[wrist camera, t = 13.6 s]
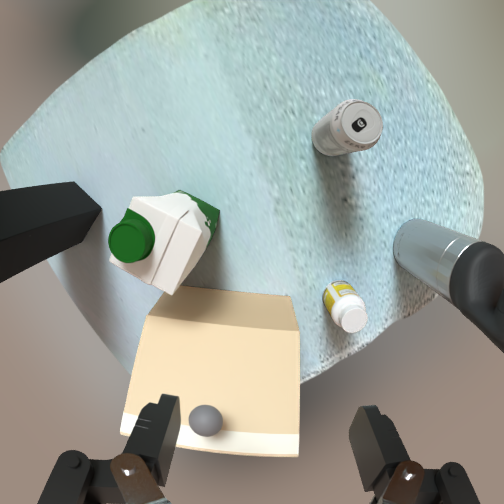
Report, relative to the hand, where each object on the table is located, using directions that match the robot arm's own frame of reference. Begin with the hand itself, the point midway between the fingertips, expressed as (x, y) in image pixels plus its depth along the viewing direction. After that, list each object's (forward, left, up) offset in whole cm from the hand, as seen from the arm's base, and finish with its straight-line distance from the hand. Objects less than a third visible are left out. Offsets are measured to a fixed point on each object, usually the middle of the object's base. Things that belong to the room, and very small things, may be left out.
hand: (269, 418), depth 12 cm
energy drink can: (-9, -17, -36) cm, 41 cm away
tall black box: (+32, -2, -36) cm, 48 cm away
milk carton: (+11, -2, -36) cm, 38 cm away
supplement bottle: (-14, +8, -36) cm, 40 cm away
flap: (+4, +13, -17) cm, 22 cm away
